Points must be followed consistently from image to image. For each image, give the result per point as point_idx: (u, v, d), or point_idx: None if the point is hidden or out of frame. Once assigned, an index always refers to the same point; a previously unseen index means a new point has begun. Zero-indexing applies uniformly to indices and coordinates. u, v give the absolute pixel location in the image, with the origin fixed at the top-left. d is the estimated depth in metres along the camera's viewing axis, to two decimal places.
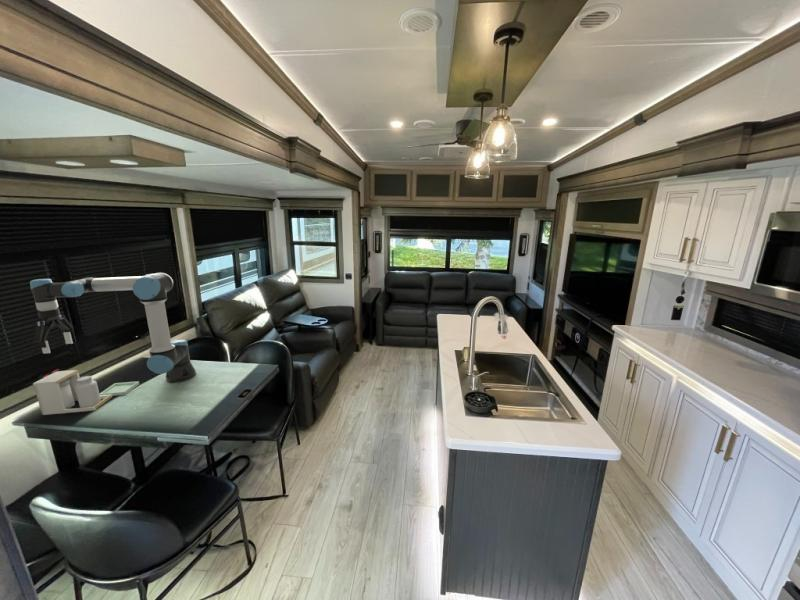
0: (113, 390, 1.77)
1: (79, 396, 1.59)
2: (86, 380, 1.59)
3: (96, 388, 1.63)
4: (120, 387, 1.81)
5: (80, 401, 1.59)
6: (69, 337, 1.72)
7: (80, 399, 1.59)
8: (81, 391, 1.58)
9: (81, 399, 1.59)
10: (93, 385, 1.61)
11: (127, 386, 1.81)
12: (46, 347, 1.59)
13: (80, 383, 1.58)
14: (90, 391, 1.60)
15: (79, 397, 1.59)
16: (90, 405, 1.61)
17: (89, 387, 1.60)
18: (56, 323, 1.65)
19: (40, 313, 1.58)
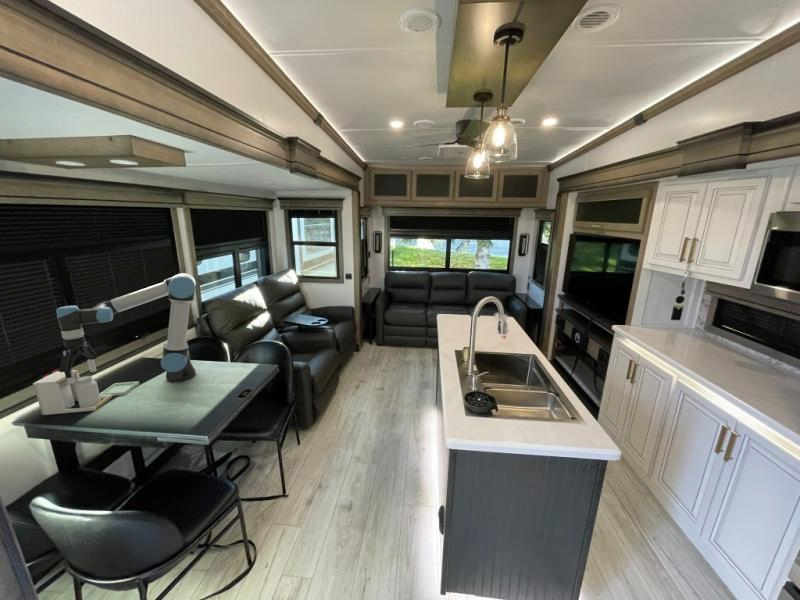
0: (113, 390, 1.77)
1: (79, 396, 1.59)
2: (86, 380, 1.59)
3: (96, 388, 1.63)
4: (120, 387, 1.81)
5: (80, 401, 1.59)
6: (93, 365, 1.66)
7: (80, 399, 1.59)
8: (81, 391, 1.58)
9: (81, 399, 1.59)
10: (93, 385, 1.61)
11: (127, 386, 1.81)
12: (71, 377, 1.53)
13: (80, 383, 1.58)
14: (90, 391, 1.60)
15: (79, 397, 1.59)
16: (90, 405, 1.61)
17: (89, 387, 1.60)
18: (81, 351, 1.59)
19: (66, 342, 1.52)
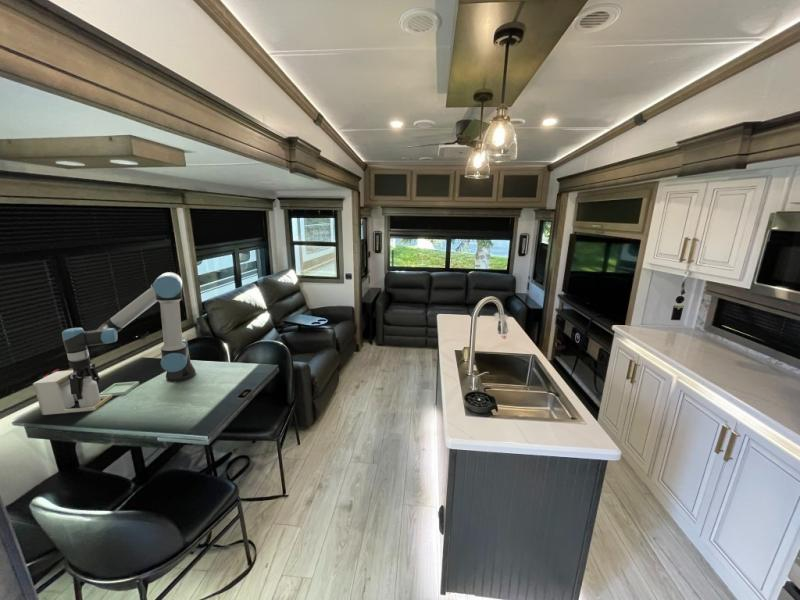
0: (113, 390, 1.77)
1: None
2: (86, 380, 1.59)
3: (96, 388, 1.63)
4: (120, 387, 1.81)
5: None
6: None
7: None
8: None
9: None
10: (93, 385, 1.61)
11: (127, 386, 1.81)
12: (82, 398, 1.58)
13: None
14: (90, 391, 1.60)
15: None
16: (90, 405, 1.61)
17: (89, 387, 1.60)
18: (87, 372, 1.61)
19: (72, 364, 1.55)
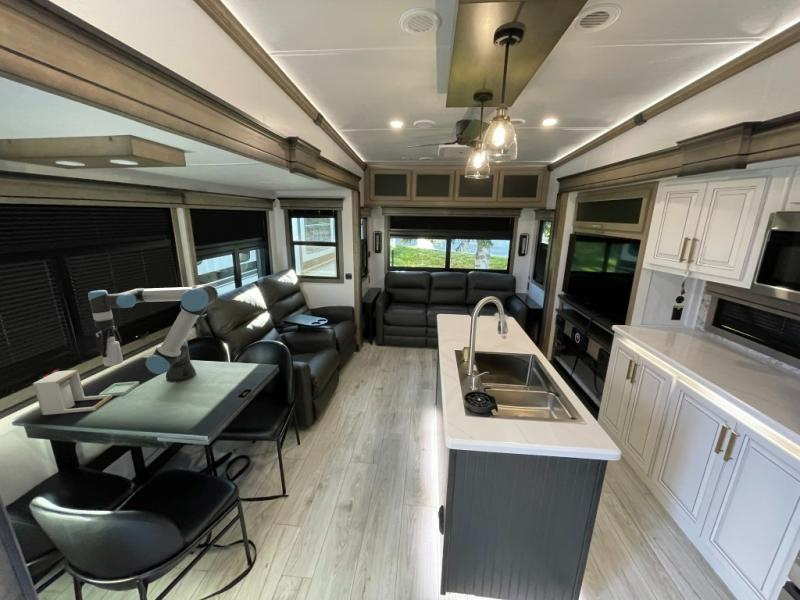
0: (113, 390, 1.77)
1: None
2: (110, 339, 1.70)
3: (119, 348, 1.74)
4: (120, 387, 1.81)
5: None
6: None
7: None
8: None
9: None
10: (116, 345, 1.72)
11: (127, 386, 1.81)
12: (107, 356, 1.69)
13: None
14: (113, 350, 1.71)
15: None
16: (113, 363, 1.71)
17: (112, 346, 1.70)
18: (110, 332, 1.72)
19: (97, 323, 1.65)
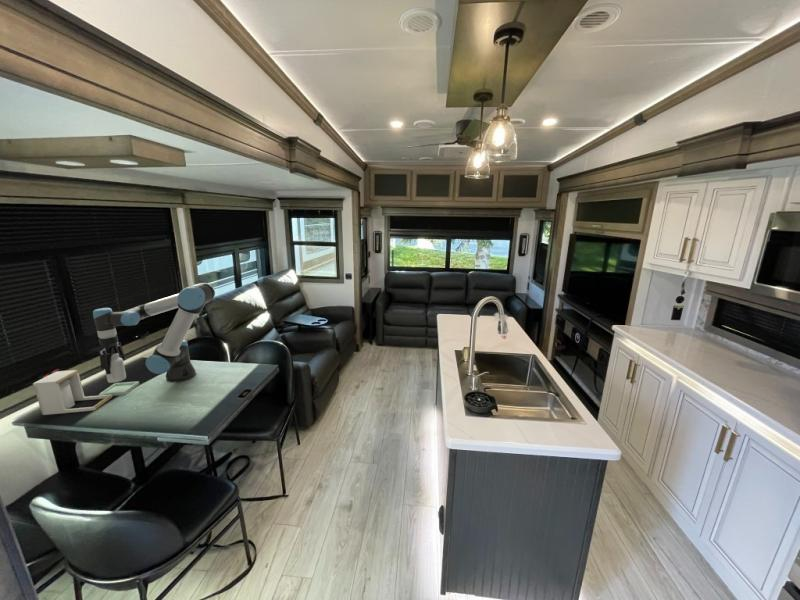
0: (113, 390, 1.77)
1: None
2: (114, 356, 1.72)
3: (122, 364, 1.76)
4: (120, 387, 1.81)
5: None
6: None
7: None
8: None
9: None
10: (120, 361, 1.74)
11: (127, 386, 1.81)
12: (111, 373, 1.71)
13: None
14: (117, 367, 1.73)
15: None
16: (117, 380, 1.74)
17: (116, 363, 1.72)
18: (114, 349, 1.74)
19: (101, 341, 1.68)
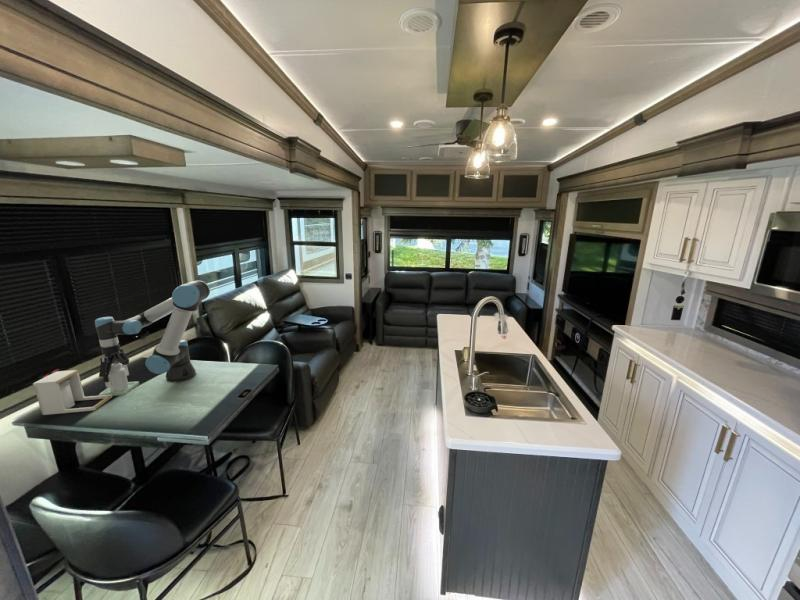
0: None
1: None
2: (116, 366, 1.73)
3: (125, 374, 1.77)
4: None
5: None
6: (126, 369, 1.82)
7: None
8: (111, 376, 1.72)
9: None
10: (122, 371, 1.75)
11: None
12: (109, 381, 1.69)
13: (110, 369, 1.72)
14: (119, 377, 1.74)
15: None
16: (119, 390, 1.75)
17: (118, 373, 1.74)
18: (116, 357, 1.75)
19: (103, 349, 1.69)
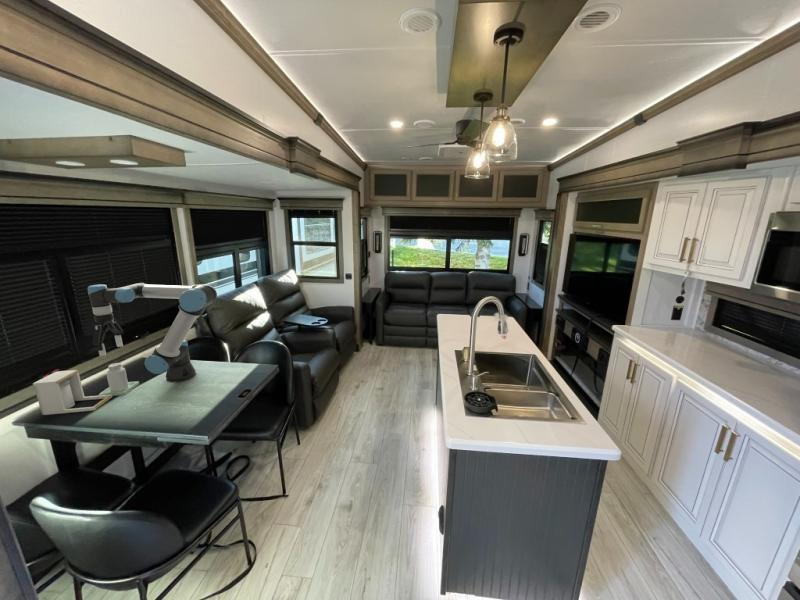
0: None
1: (110, 381, 1.73)
2: (116, 366, 1.73)
3: (125, 374, 1.77)
4: None
5: (111, 386, 1.73)
6: (120, 340, 1.79)
7: (111, 384, 1.73)
8: (111, 376, 1.72)
9: (111, 384, 1.73)
10: (122, 371, 1.75)
11: None
12: (103, 350, 1.66)
13: (111, 369, 1.72)
14: (119, 377, 1.74)
15: (110, 382, 1.73)
16: (119, 390, 1.75)
17: (119, 373, 1.74)
18: (110, 327, 1.72)
19: (97, 317, 1.66)
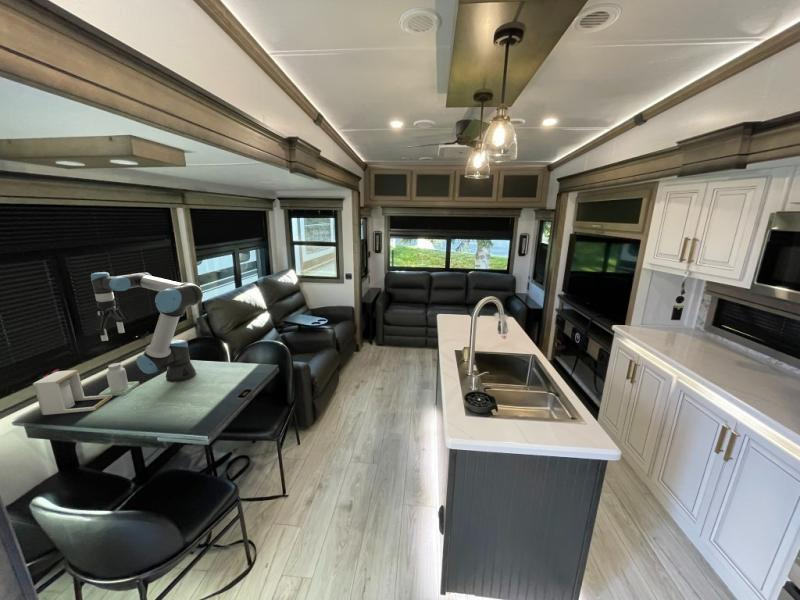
0: None
1: (110, 381, 1.73)
2: (116, 367, 1.73)
3: (125, 374, 1.77)
4: None
5: (111, 386, 1.73)
6: (121, 326, 1.86)
7: (111, 384, 1.73)
8: (111, 376, 1.72)
9: (111, 384, 1.73)
10: (122, 371, 1.75)
11: None
12: (104, 335, 1.73)
13: (111, 369, 1.72)
14: (119, 377, 1.74)
15: (110, 382, 1.73)
16: (120, 390, 1.75)
17: (119, 373, 1.74)
18: (112, 313, 1.79)
19: (99, 304, 1.72)
